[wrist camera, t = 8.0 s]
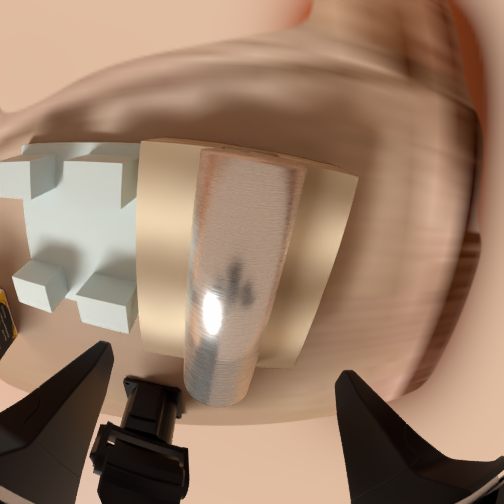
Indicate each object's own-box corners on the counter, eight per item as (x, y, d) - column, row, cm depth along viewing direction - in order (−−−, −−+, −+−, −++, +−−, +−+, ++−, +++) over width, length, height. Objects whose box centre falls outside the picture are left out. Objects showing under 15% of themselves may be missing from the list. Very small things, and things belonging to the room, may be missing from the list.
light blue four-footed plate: (144, 309, 21) (130, 341, 17) (42, 285, 20) (21, 308, 16) (147, 143, 15) (123, 149, 12) (28, 143, 14) (-4, 152, 11)
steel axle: (247, 359, 19) (250, 409, 15) (187, 353, 18) (180, 402, 14) (294, 160, 13) (320, 175, 9) (206, 145, 12) (193, 154, 8)
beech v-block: (285, 333, 22) (292, 369, 19) (155, 316, 21) (142, 350, 18) (335, 165, 16) (359, 177, 13) (163, 137, 15) (141, 140, 12)
